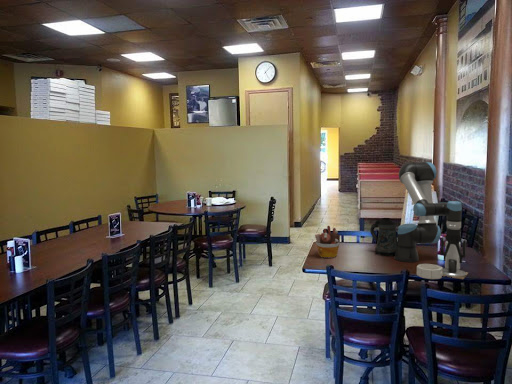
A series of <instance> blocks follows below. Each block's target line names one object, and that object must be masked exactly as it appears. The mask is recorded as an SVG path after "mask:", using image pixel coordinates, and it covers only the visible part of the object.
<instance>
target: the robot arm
mask: <svg viewBox="0 0 512 384" xmlns="http://www.w3.org/2000/svg"><path fill="white" fill-rule="evenodd" d="M437 172H438V171H437V168H436V166H435V165H434V163H433V162H430V161H429V162H428V161H417V162H414V161H413V162H406V163H404V164H403V165H401V167H400V168H399V170H398V180H399V181H400V183H401V184H403V185H404V188H405V189H406V191H407V193H408V195H409V196H410V199H411V200H412V201H411V202H413V208H412V209H413V215H414V216H417V217H419V221H418V222H417V224H416V223H403V224H400V225H399V226H398V227H397V232H396V235H397V250H396V253H395V256H394V260H396V261H399V262H403V263H416V262H419V260H420V259H419V258H420V256H419V253H418V250H417V244H419V245H421V244H436V243H438V242H439V240H440V252H439V253H440V255H441V256H443V262H444V268H445V267H448V255H447V253H448V250H449V247H450V245H451V244H454V245H456V248H457V251H458V254H459V257H458V269H459V270H461V264H463V259H464V258H466V257H467V247H466V246H467V244H466V243H467V242H468V241H467V239H463V238H462V229H461V228H462V216H463V215H462V213H463V212H462V211H463V208H462V206H463V205H462V202H461V201H457V200H456V201H455V200H449V201H447V202H445V201H444V202H443V201H442V202H441V201H439V202H435V203H434V202H433V194H432V193H433V192H432V184H433V183H434V180H435V179H436V177H437ZM435 216H436V217H437V216H440V217H441V216H444V217H446V232H445V233H446V235H445V236H444V237H443V236H442V237H441V234H442V229H441V228H440V225H438V224H437V222H436V221H435V220H434V217H435ZM446 241H448V244H447V247H446V250H445V242H446ZM459 242H460V243H462V250H461V245H460V246H459Z"/></svg>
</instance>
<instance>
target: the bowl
mask: <svg viewBox="0 0 512 384" xmlns="http://www.w3.org/2000/svg"><path fill="white" fill-rule="evenodd" d="M443 269H444V267H442V266H441V265H439V264H431V263H419V264H418V265H417V266H416V276H417V277H419V278H423V279H428V280H440V279H442V278H443V277H444V276H443ZM442 276H443V277H442Z"/></svg>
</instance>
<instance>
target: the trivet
mask: <svg viewBox="0 0 512 384" xmlns="http://www.w3.org/2000/svg"><path fill="white" fill-rule="evenodd" d="M465 272H466V276H464V277H452V278H454V279H459V280H464V279H465V278H466V277H467V275H469V272H467V271H465ZM443 277H445V275H443ZM446 278H450V277H449V276H447V277H446Z"/></svg>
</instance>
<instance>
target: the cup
mask: <svg viewBox="0 0 512 384" xmlns="http://www.w3.org/2000/svg"><path fill="white" fill-rule="evenodd" d="M447 244H448V241H447V240H445V241H444V251H445V250H446V247H447ZM459 246H460V247H461V241H460V242H459ZM447 255H448V261H449V259H455V260H457V269H458V257H459V254H458V251H457V248H456V245H454V244H451V245H450V247H449V250H448V253H447ZM444 268H448V267H445V266H444ZM458 270H460V269H458Z"/></svg>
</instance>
